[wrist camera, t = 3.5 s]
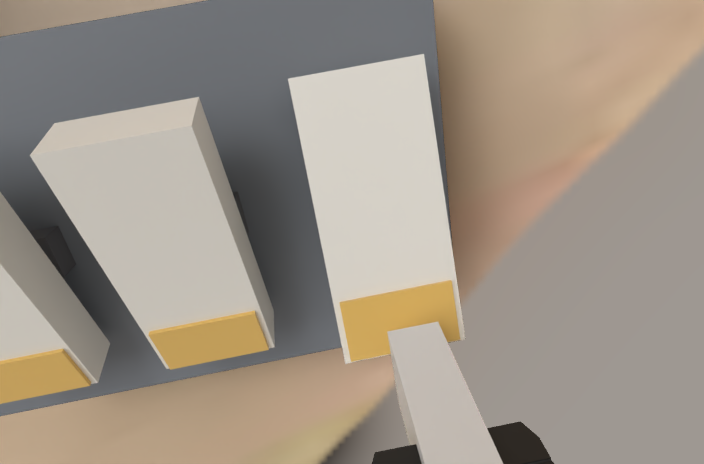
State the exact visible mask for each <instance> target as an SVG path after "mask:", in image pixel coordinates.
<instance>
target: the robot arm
mask: <svg viewBox="0 0 704 464" xmlns="http://www.w3.org/2000/svg"><path fill="white" fill-rule="evenodd" d="M387 333H388V339H389V346H390V352H391V358H392V365H393V371H394V377H395V383H396V390H397V396H398V401H399V406H400V409H401V414H402V417H403V421H404V425H405V429H406V432H407V436H408V440H409V444H410V446H405V447H400V448H395V449H390V450H385V451H380V452H375V454H374V458H373V462H372V464H554V463H553V462H552V461H551V457H550V456H549V454H548V452H547V450H546V449H545V447H544V445H543V444H542V442H541V440H540V438H539V437H538V436H537V435H536V434H534V433H533V432H532V431H531V430H530V429H529V428H527V427H526V426H525V425H524V424H523V423H521V422H516V423H511V424H506V425H502V426H496V427H492V428H487V427H486V425H485V423H484V421H483V419H482V416H481V414H480V412H479V410H478V408H477V406H476V404H475V402H474V399H473V397H472V395H471V393H470V391H469V388H468V386H467V384H466V382H465V379H464V377H463V375H462V373H461V371H460V368H459V366H458V364H457V362H456V360H455V358H454V355H453V353H452V351H451V349H450V347H449V344H448V342H447V340H446V338H445V336H444V334H443V331H442V329H441V327H440V325H439V323H438V322H433V323H428V324H423V325H418V326H413V327H408V328H403V329H398V330H393V331H388V332H387Z"/></svg>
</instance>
